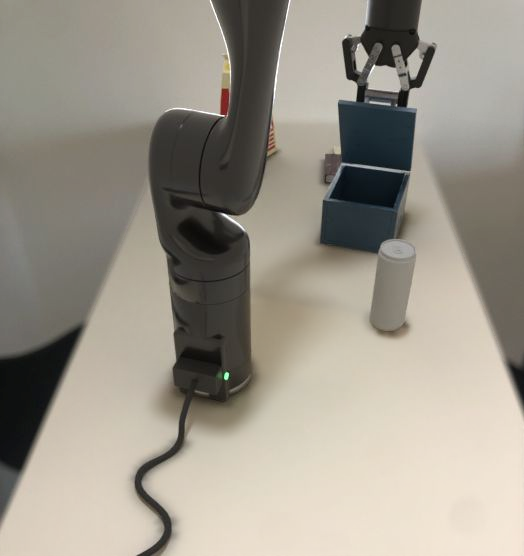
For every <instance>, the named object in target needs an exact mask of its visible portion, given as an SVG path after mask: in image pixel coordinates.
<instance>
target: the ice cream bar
mask: <svg viewBox="0 0 524 556" xmlns="http://www.w3.org/2000/svg"><path fill="white" fill-rule="evenodd" d="M342 163H344V162H342V161H341V146H340V145H334V147H333V153H325V154H324V174H323V178H324V179H323V180H324V181H323V182H324V183H327V184H331V183H332V181H333V179H334V177H335V175H336V173H337V171H338V170H339V168H340V166H341V164H342ZM345 164H352V163H345ZM352 165H354V164H352Z"/></svg>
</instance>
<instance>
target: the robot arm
mask: <svg viewBox="0 0 524 556" xmlns="http://www.w3.org/2000/svg"><path fill="white" fill-rule="evenodd" d="M209 2H210V4H211V7H212V10H213V13H214V15H215V17H216V18H215V19H216V21H217V23H218V25H219V28H220V31H221V34H222V37H223V41H224V44H225V48H226V51H227V54H228V57H229V63H230V99H229V107H228V114H227V116H224V115H220V114H217V113H211V112H205V111H201V110H194V109H189V108H183V107H174V108H170V109H168V110H166V111H164V112H163V113H162V114H161V115H159V117H158V118H157V119H156V120H155V123H154V125H153V127H152V129H151V132H150V136H149V140H148V146H147V156H146V157H147V158H146V159H147V161H146V162H147V176H148V183H149V191H150V197H151V201H152V206H153V212H154V218H155V224H156V229H157V236H158V241H159V244H160V246H161V248H162V250H163V252H164V253H165V259H166V267H167V276H168V286H169V296H170V307H171V314H172V323H173V334H172V335H173V346H174V354H175V363H174V364H173V366H172V375H173V376H172V377H173V384H174V386H175V387H178V390H179V392H181V393H185V394H186V396H185V398H184V401H183V405H182V408H181V411H180V415H179V419H178V430H177V431H178V432H177V438H176V440H175V443H174V444H173V445H172V447H171V448H170V449H169V450H167V451H166V452H164V453H163V454H161V455H158V456H157V457H155V458H153V459H150V460H148V461H146V462H145V463H143V464H142V465H141V466H140V467H139V468H138V469H137V471H136V474H135V476H134V487H135V488H134V489H135V490H136V492H137V494H138V495H139V496H140V497H141V499H143V501H145V503H147V504H148V505H149V506H150V507H152V509H153V510H155V511H156V512H157V513H158V515H160V517H161V518H162V520H163V523H164V529H163V533H162V535H161V537H160V538H159V540H158V541H157V542H156V543H154V544H153V545H152V546H150V547H149V548H147V549H145V550H144V551H142V552H140V553H138V554H136V555H135V556H153V555H154V554H157V553H158V552H159V551H160V550H161V549H162V548H163V547H164V546H165V545H166V544H167V542H168V540H169V538H170V536H171V533H172V527H173V526H172V525H173V524H172V519H171V517H170V515H169V513H168V511H167V510H166V509H165V508H164V507H163V506H162V505H161V504H160V503H158V502H157V500H155V499H154V498H153V497H151V495H150V494H148V492H147V491H146V490H145V489H144V487H143V484H142V477H143V475H144V474H145V472H147V471H148V470H149V469H151V468H152V467H154V466H156V465H158V464H160V463H162V462H165V461H167V460H168V459H170V458H172V456H174V455H175V454H176V453H177V452H178V451H179V450H180V448H181V447H182V444H183V443H184V439H185V433H186V430H185V429H186V420H187V415H188V412H189V408H190V405H191V402H192V399H193V397H194V395H195V396H198V397H202V398H207V399H211V400H216V401H220V402H227V401H228V399H229V397H230V396H232V395H234V394H237V393H239V392H240V391H242V390H244V388H246V386H247V385H249V384H250V381H251V379H252V377H253V362H252V313H251V312H252V311H251V310H252V309H251V307H252V305H251V304H252V303H251V302H252V301H251V300H252V299H251V241H250V237H249V234H248V232H247V231H246V229H245V228H244V227H243V226H242V224H240V223H238V222H237V221H236V220H234V219H233V218H232V216H233V217H234V216H235V217H239V216H240V217H241V216H244V215H246V214H247V213H248V212H249V211H250V210H251V209H252V208H253V206H254V205H255V203H256V202H257V199H258V197H259V194H260V191H261V189H262V185H263V181H264V177H265V173H266V167H267V162H268V161H267V160H268V157H267V154H268V146H269V139H270V130H271V121H272V113H274V104H275V95H276V86H277V77H278V71H279V63H280V57H281V50H282V45H283V39H284V33H285V29H286V28H285V27H286V22H287V18H288V13H289V9H290V3H291V0H209ZM422 3H423V0H367V3H366V11H365V12H366V13H365V21H364V22H365V23H364V29H363V30H362V32H361V34H359V35H358V34H357V35H352V34H346V35H345V37H344V38H343V40H342V41H341V47H342V54H343V55H342V56H343V62H344V70H345V77H346V79H347V80H348V81H352V82H354V83H355V84H356V86H357V87H356V97H355V98H356V99H355V102H364V101H365V100H364V96H365V91H366V88H369V86H370V85H369V84H370V82H368V80H369V78H370V75H372V74H371V73H372V72H373V70H374V69H375V67H384V66H386V67H388V68H392V69H396V74H397V77H398V80H399V84H400V88H399V91H398V92H399V96H398V103H397V104H396V106H398V107H407V108H408V106H409V105H408V104H409V98H410V91H411V90H412V89H420V88H421V87H422V86H423V84H424V81H425V79H426V76H427V74H428V72H429V70H430V66H431V65H432V64H431V63H432V61H433V59H434V56H435V53H436V51H437V48H438V45H437V44H436V42H430V43H429V42H426V41H423V40H421V39H420V36H419V30H418V29H419V22H420V17H421V9H422ZM360 44H361V46H362V47H363V49H364V51H365V53H366V55H367V60H366V62H365V64H364V66H363V68H362V71H359V70H358V66H357V59H356V52H357V51H358V49H359V45H360ZM416 50H418V51H419V52H418V53H419V54H418V55H419V56H418V57H419V58H420V60H422V61H421V63H420V66H419V69H418V70H417V71H418V72H417V74H416V76H413V77H411V73H410V64H409V60H408V58H410V57H411V55H412V54H413V53H414V52H415V51H416ZM230 216H231V217H230Z"/></svg>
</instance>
